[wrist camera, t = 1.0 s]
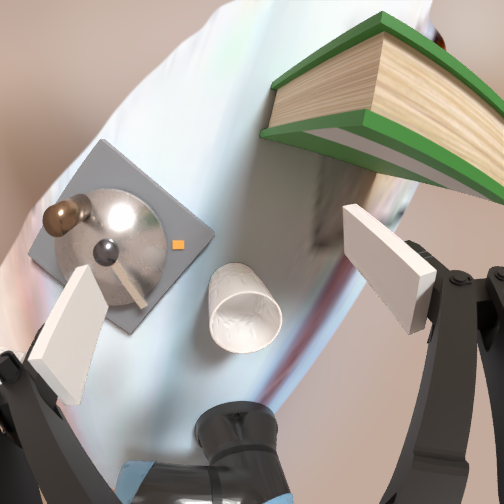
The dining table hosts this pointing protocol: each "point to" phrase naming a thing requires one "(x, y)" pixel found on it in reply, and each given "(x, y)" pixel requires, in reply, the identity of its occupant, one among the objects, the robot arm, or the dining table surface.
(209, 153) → the dining table surface
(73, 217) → the capstan dial
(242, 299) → the white cup
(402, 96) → the hardback book
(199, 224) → the dial base
